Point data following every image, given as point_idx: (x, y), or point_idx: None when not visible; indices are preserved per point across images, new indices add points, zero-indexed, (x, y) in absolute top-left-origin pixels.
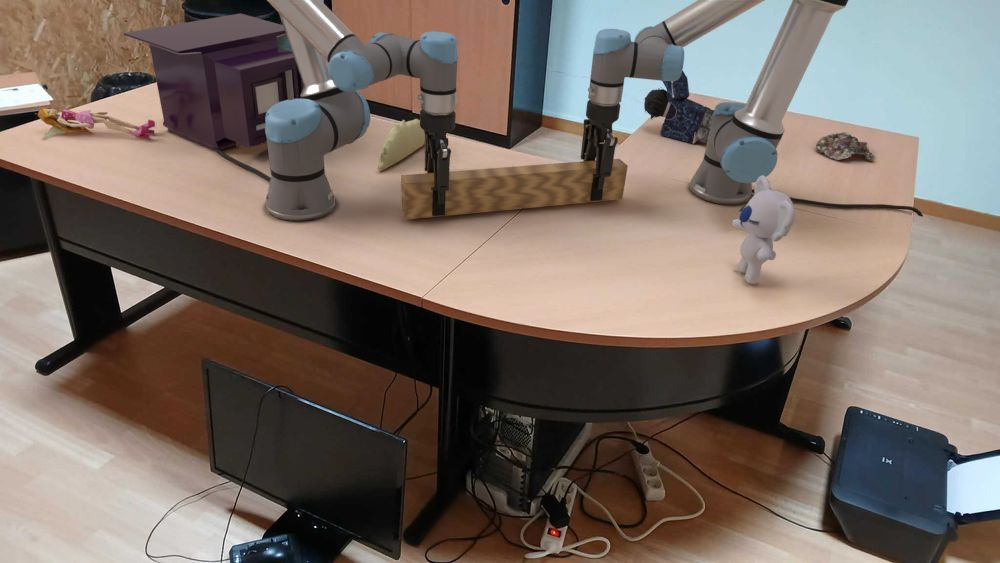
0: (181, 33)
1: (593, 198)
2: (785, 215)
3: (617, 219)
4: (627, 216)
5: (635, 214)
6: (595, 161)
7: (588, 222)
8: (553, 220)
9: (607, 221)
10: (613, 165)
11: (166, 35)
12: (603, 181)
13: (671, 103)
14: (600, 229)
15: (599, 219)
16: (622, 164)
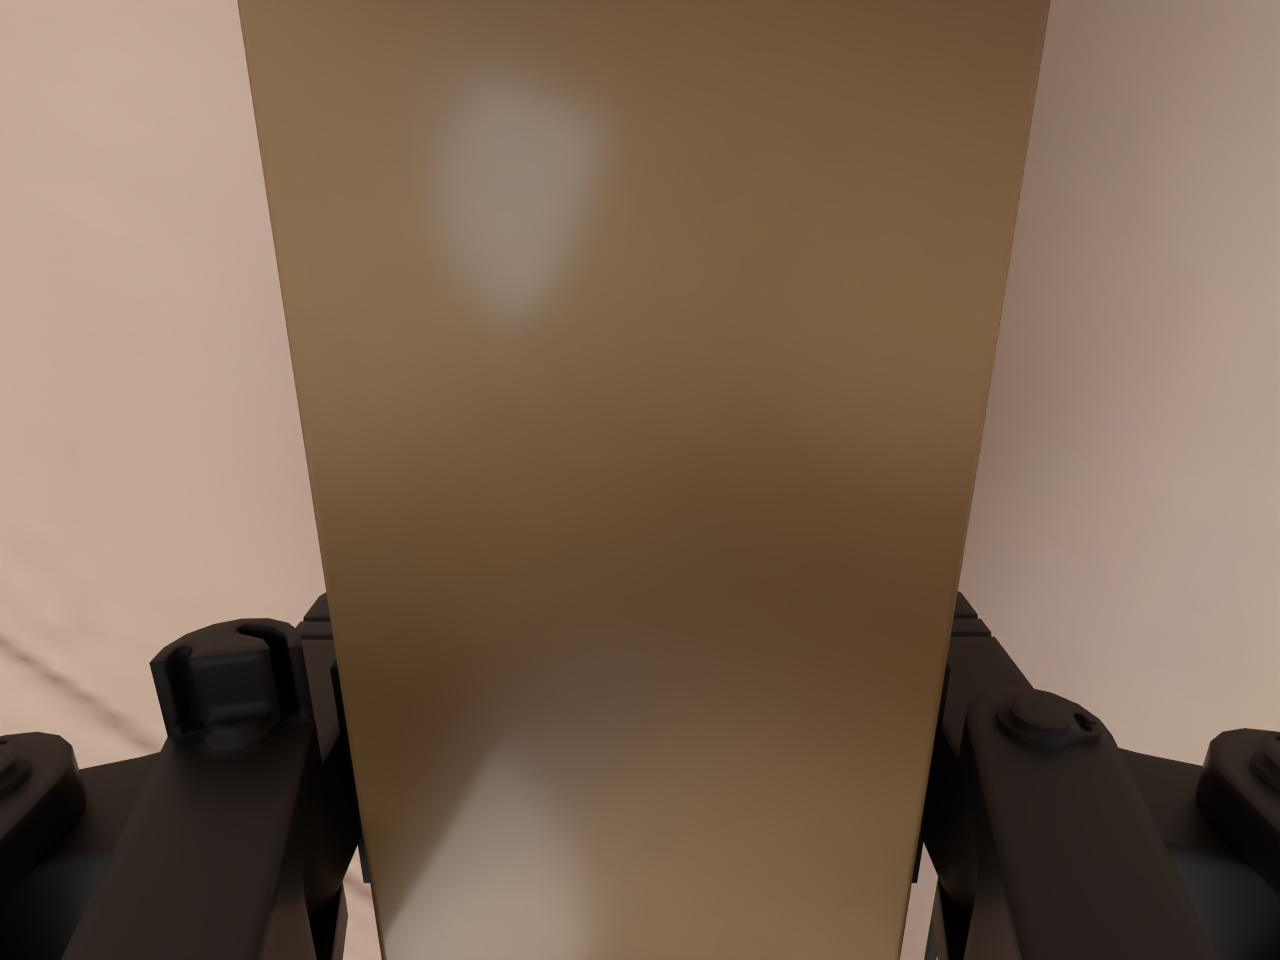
0: None
1: None
2: None
3: (1158, 354)
4: (1144, 177)
5: (1142, 19)
6: (446, 853)
7: (1081, 691)
8: (918, 948)
9: (1149, 494)
10: (863, 462)
11: None
12: (1014, 681)
13: None
14: (1269, 640)
15: (1068, 559)
16: (888, 47)
